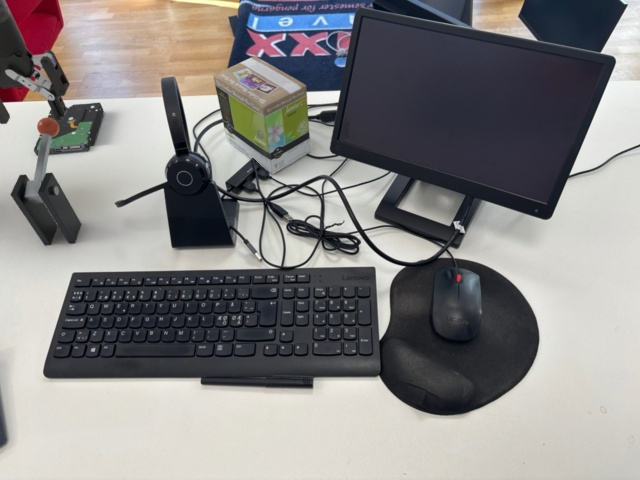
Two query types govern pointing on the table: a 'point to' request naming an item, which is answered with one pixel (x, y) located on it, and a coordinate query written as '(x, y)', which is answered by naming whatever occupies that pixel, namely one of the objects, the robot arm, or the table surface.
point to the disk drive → (75, 129)
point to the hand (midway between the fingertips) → (33, 119)
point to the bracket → (41, 215)
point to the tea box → (264, 113)
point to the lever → (41, 158)
